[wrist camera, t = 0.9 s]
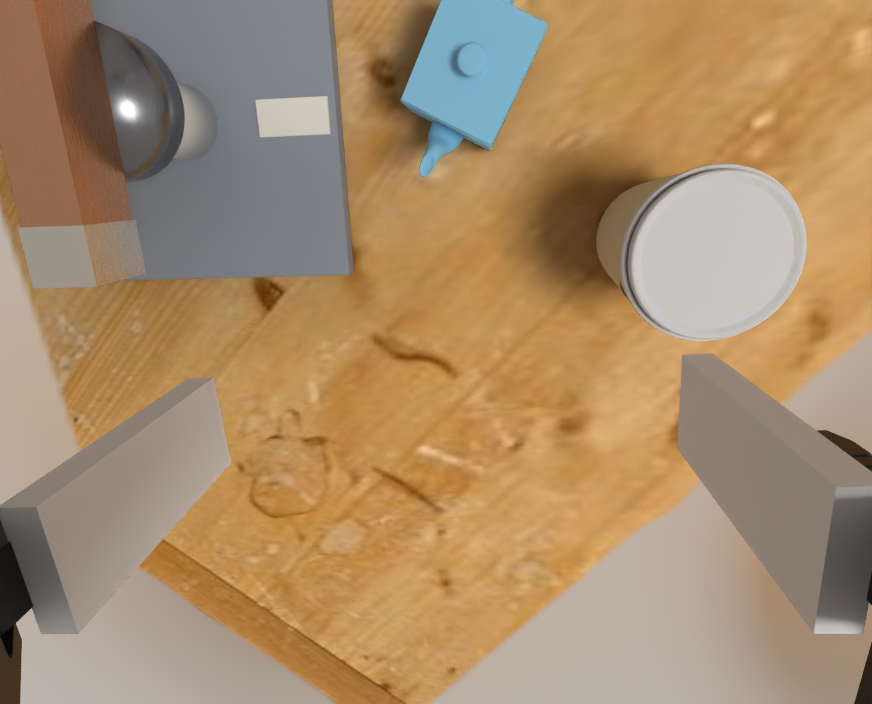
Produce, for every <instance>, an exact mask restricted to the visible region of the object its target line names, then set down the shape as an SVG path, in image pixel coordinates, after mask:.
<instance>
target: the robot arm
mask: <svg viewBox="0 0 872 704" xmlns="http://www.w3.org/2000/svg"><path fill="white" fill-rule="evenodd" d="M677 449H678V450H679V451H680V453H681V454H682V455H683V457H684V458H685V459H686V461H687V462H688V464H689V465H690V466H691V468H692V469H693V470H694V472H695V473H696V474H697V476H698V477H699V478H700V480H701V481H702V483H703V484H704V485H705V487H706V488H707V489H708V491H709V492H710V493H711V495H712V496H713V498H714V499H715V500H716V501H717V503H718V504H719V506H720V507H721V508H722V510H723V511H724V512H725V514H726V515H727V516H728V518H729V519H730V521H731V522H732V523H733V525H734V526H735V527H736V529H737V530H738V531H739V533H740V534H741V535H742V537H743V538H744V540H745V541H746V542H747V544H748V545H749V546H750V547H751V549H752V550H753V552H754V553H755V555H756V556H757V557H758V559H759V560H760V561H761V563H762V564H763V565H764V567H765V568H766V570H767V571H768V572H769V573H770V575H771V576H772V578H773V579H774V580H775V582H776V583H777V584H778V586H779V587H780V589H781V590H782V591H783V592H784V594H785V595H786V597H787V598H788V599H789V601H790V602H791V604H792V605H793V606H794V608H795V609H796V610H797V612H798V613H799V614H800V616H801V617H802V618H803V620H804V621H805V623H806V624H807V625H808V627H809V628H810V629H811V631H812V632H813V633H814V634H830V633H831V634H862V633H863V631H864V626H865V620H866V615H867V610H868V604H869V603H870V604H871V605H872V455H871V454H870V453H869V452H868V451H866V450H865V449H863V448H862V447H861V446H859V445H858V444H856V443H855V442H853V441H851V440H849V439H846V438H844V437H841V436H839V435H836V434H834V433H831V432H829V431H827V430H824V431H822V430H821V431H816V430H815V429H813V428H812V427H811V426H809V425H808V424H807V423H805V422H804V421H803V420H801V419H800V418H799V417H797V416H796V415H795V414H793V413H792V412H790V411H789V410H788V409H786V408H785V407H784V406H782V405H781V404H780V403H778V402H777V401H776V400H774V399H773V398H772V397H770V396H769V395H768V394H766V393H765V392H764V391H762V390H761V389H760V388H758V387H757V386H756V385H754V384H753V383H751V382H750V381H749V380H747V379H746V378H745V377H743V376H742V375H741V374H739V373H738V372H737V371H735V370H734V369H733V368H731V367H730V366H729V365H727V364H726V363H725V362H723V361H722V360H720V359H719V358H718V357H716V356H715V355H714V354H712V353H711V354H690V355H682V370H681V388H680V406H679V424H678V441H677ZM230 463H231V460H230V455H229V450H228V445H227V440H226V436H225V431H224V426H223V421H222V416H221V412H220V407H219V402H218V397H217V392H216V388H215V383H214V378H194V379H187V380H186V381H184V382H183V383H181V384H180V385H178V386H177V387H175V388H174V389H172V390H171V391H169V392H168V393H167V394H165V395H164V396H162V397H161V398H159V399H158V400H156V401H155V402H153V403H152V404H150V405H149V406H147V407H146V408H144V409H143V410H141V411H140V412H138V413H137V414H135V415H134V416H132V417H131V418H129V419H128V420H126V421H125V422H123V423H122V424H120V425H119V426H117V427H116V428H114V429H113V430H111V431H110V432H108V433H107V434H106V435H104V436H103V437H101V438H100V439H98V440H97V441H95V442H94V443H92V444H91V445H89V446H88V447H86V448H85V449H83V450H82V451H80V452H79V453H77V454H76V455H74V456H73V457H72V458H70V459H68V460H67V461H65V462H64V463H62V464H61V465H60V466H58V467H56V468H55V469H54V470H52V471H50V472H49V473H48V474H46V475H45V476H43V477H42V478H40V479H39V480H37V481H36V482H34V483H33V484H31V485H30V486H28V487H27V488H25V489H24V490H22V491H21V492H19V493H18V494H16V495H15V496H13V497H12V498H10V499H9V500H7V501H6V502H4V503H3V504H1V505H0V704H20V683H21V682H20V681H21V648H22V639H21V636H20V634H19V631H18V628H17V626H16V622H17V621H18V620H19V619H20V618H21V617H22V616H23V615H25V614H26V613H27V612H28V611H29V610H30V609H31V608H32V609H33V612H34V615H35V618H36V620H37V623H38V626H39V629H40V632H41V633H42V634H78V633H79V632H80V631H81V630H82V629H83V628H84V627H85V626H86V625H87V624H88V622H89V621H90V620H91V619H92V618H93V617H94V616H95V614H96V613H97V612H98V611H99V610H100V609H101V608H102V607H103V606H104V605H105V603H106V602H107V601H108V600H109V599H110V598H111V597H112V596H113V594H114V593H115V592H116V591H117V590H118V589H119V588H120V586H121V585H122V584H123V583H124V582H125V581H126V580H127V579H128V578H129V576H130V575H131V574H132V573H133V572H134V571H135V570H136V569H137V567H138V566H139V565H140V564H141V563H142V562H143V561H144V560H145V559H146V557H147V556H148V555H149V554H150V553H151V552H152V551H153V550H154V548H155V547H156V546H157V545H158V544H159V543H160V542H161V541H162V539H163V538H164V537H165V536H166V535H167V534H168V533H169V532H170V530H171V529H172V528H173V527H174V526H175V525H176V524H177V523H178V522H179V520H180V519H181V518H182V517H183V516H184V515H185V514H186V513H187V511H188V510H189V509H190V508H191V507H192V506H193V505H194V504H195V502H196V501H197V500H198V499H199V498H200V497H201V496H202V495H203V493H204V492H205V491H206V490H207V489H208V488H209V487H210V486H211V484H212V483H213V482H214V481H215V480H216V479H217V478H218V477H219V476H220V474H221V473H222V472H223V471H224V470H225V469H226V468H227V467H228V465H229V464H230ZM854 704H872V643H871V647H870V650H869V654H868V657H867V661H866V664H865V668H864V671H863V675H862V679H861V682H860V685H859V689H858V693H857V696H856V700H855V703H854Z"/></svg>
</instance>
